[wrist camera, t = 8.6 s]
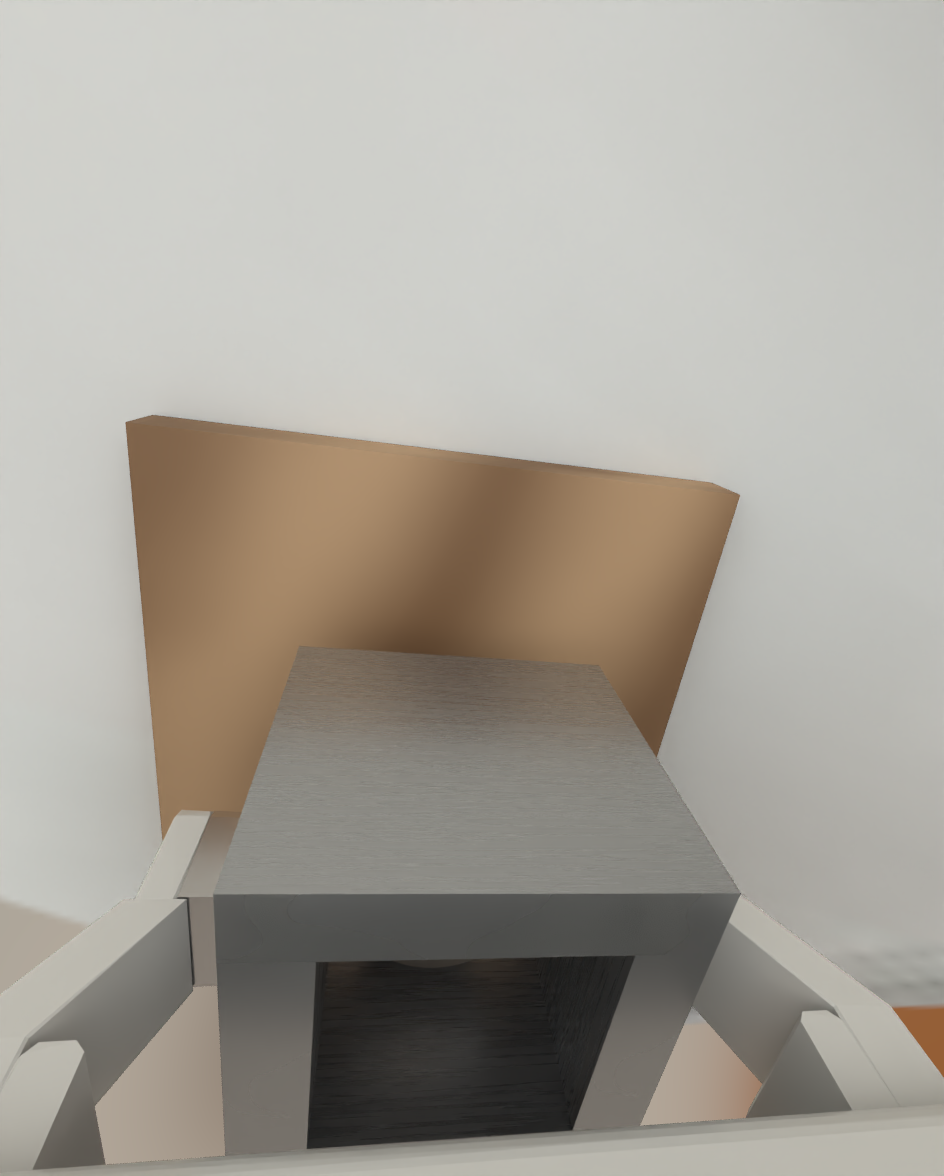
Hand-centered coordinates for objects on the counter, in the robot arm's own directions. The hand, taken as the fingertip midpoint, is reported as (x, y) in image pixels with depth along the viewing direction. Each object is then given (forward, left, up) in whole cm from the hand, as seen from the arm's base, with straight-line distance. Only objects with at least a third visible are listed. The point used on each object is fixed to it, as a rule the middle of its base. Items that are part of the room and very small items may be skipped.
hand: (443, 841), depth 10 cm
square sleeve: (0, 0, -2) cm, 2 cm away
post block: (0, 0, -5) cm, 5 cm away
